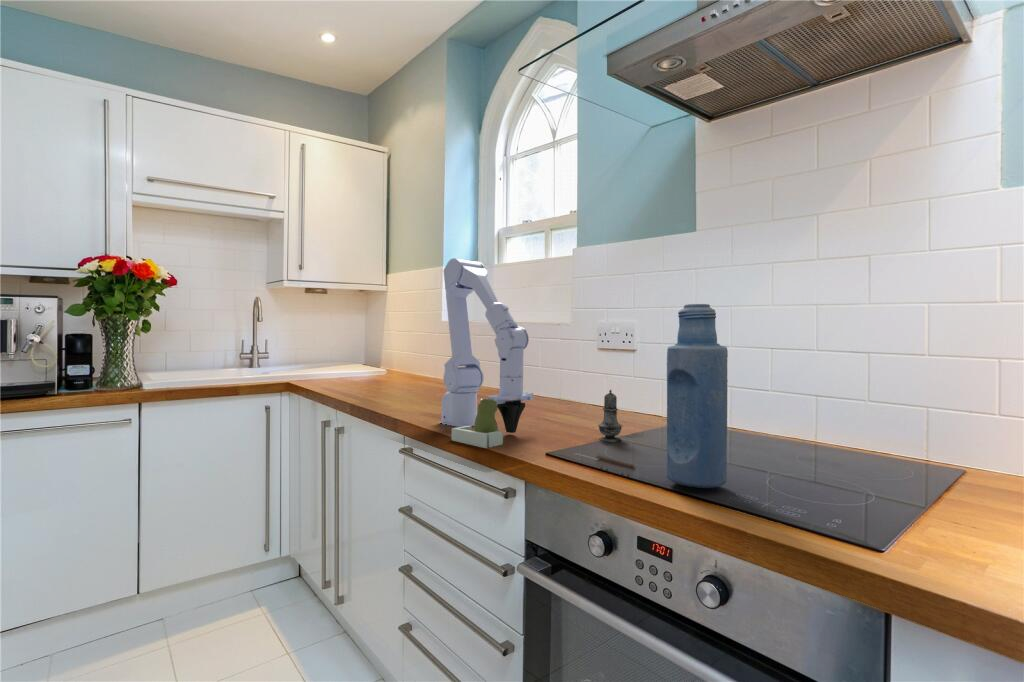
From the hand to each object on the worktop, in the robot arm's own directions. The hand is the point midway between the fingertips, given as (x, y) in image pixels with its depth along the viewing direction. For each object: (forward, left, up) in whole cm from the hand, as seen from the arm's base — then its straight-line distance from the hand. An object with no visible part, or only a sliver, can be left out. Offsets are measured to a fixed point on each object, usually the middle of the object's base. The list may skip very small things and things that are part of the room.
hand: (510, 432), depth 130 cm
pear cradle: (0, -9, -1) cm, 9 cm away
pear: (0, -9, -1) cm, 9 cm away
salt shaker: (+20, +13, -1) cm, 24 cm away
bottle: (+50, -9, -1) cm, 51 cm away
